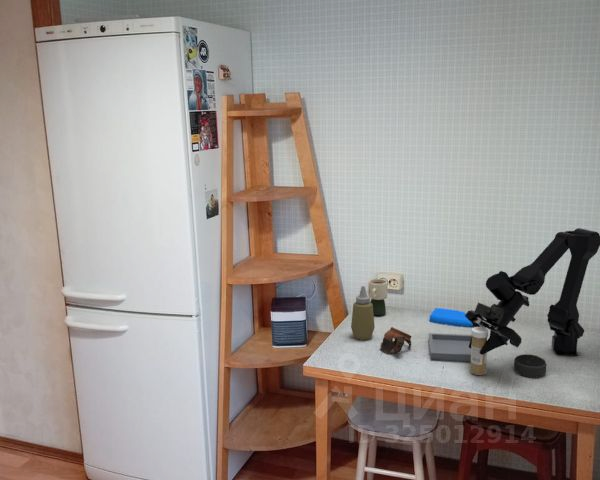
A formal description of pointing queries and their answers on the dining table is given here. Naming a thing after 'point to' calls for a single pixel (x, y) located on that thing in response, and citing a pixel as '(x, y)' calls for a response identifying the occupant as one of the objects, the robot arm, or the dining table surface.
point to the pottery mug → (398, 343)
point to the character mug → (378, 295)
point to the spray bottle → (450, 317)
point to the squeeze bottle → (362, 316)
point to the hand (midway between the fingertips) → (475, 350)
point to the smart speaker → (530, 365)
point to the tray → (450, 347)
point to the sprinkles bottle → (478, 350)
